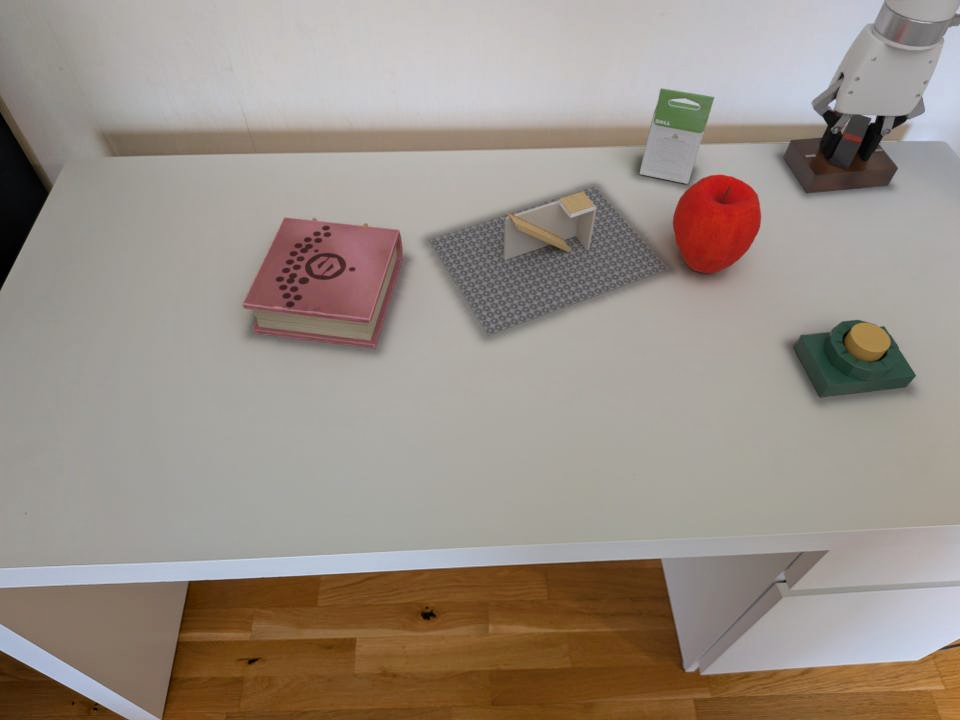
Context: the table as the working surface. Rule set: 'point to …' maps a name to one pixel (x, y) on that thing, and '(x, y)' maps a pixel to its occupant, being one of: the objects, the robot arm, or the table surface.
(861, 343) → the button
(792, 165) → the plate
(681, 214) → the apple
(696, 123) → the ink box
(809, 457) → the table surface
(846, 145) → the lock knob
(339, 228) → the book
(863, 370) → the box
